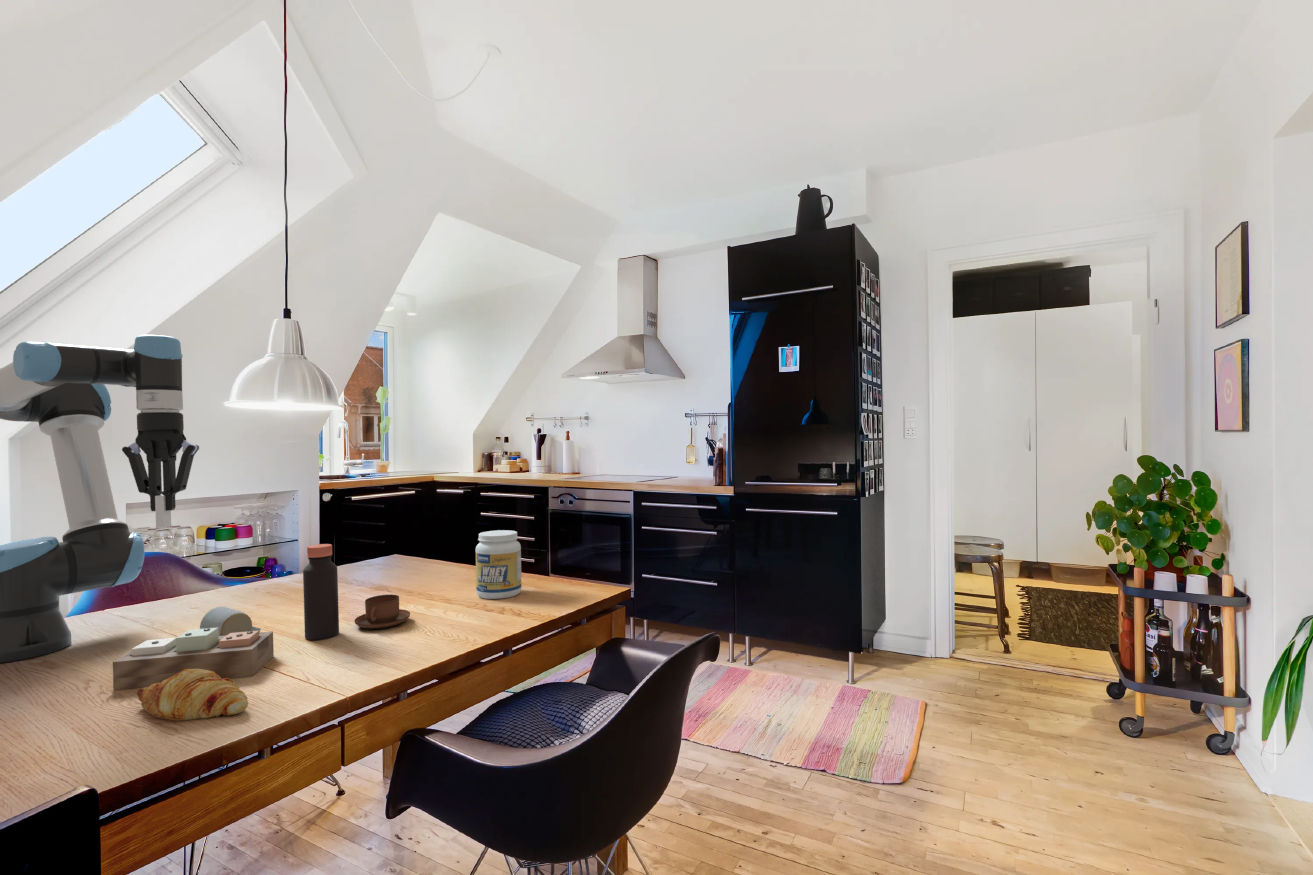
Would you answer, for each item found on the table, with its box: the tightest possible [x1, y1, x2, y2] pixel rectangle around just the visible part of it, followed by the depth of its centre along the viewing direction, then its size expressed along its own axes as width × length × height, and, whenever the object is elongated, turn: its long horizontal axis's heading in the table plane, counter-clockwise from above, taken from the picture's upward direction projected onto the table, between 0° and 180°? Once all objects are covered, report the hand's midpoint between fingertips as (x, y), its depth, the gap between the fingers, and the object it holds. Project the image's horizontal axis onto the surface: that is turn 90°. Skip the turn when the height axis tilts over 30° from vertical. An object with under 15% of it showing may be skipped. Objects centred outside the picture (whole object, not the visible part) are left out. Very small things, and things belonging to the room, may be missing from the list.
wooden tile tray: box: [112, 631, 275, 691], centre depth 120 cm, size 22×11×5 cm, turn 103°
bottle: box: [302, 543, 340, 641], centre depth 140 cm, size 7×7×20 cm
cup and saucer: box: [354, 594, 411, 630], centre depth 148 cm, size 12×12×6 cm
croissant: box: [136, 668, 249, 722], centre depth 103 cm, size 21×10×8 cm, turn 78°
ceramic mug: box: [199, 606, 261, 636], centre depth 139 cm, size 10×8×7 cm
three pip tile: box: [219, 631, 259, 648], centre depth 122 cm, size 5×5×4 cm
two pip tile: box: [175, 628, 219, 652], centre depth 120 cm, size 5×5×4 cm
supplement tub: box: [474, 529, 522, 600], centre depth 174 cm, size 12×12×17 cm
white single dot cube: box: [131, 637, 177, 656], centre depth 118 cm, size 5×5×4 cm
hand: (163, 526), depth 130 cm, fingers closed
